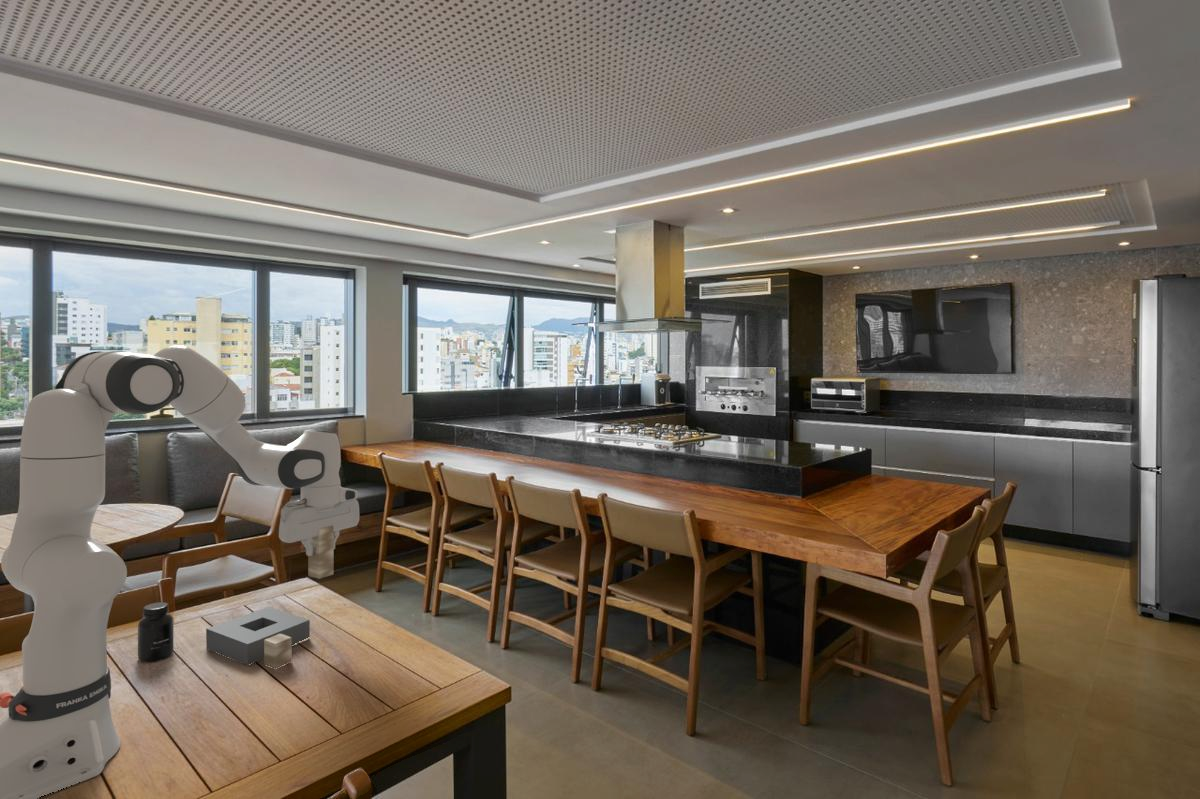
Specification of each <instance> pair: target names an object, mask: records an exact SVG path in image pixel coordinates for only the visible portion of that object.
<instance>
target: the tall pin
mask: <svg viewBox="0 0 1200 799" xmlns="http://www.w3.org/2000/svg"><path fill="white" fill-rule="evenodd" d="M310 543H311V545H312V547H316V554H315V555H312V556H308V555H307V557H308V558H307V559H308V560H307V563H308V564H307V568H308V569H307V573H308V574H307V575H308V577H311V578H315V579H319V580H320V579H324V578H326V577H329V576H333V575H334V572H335V570H334V568H335V567H334V565H335V564H334V563H335V562H334V555H335V554H334V549H333V526H329V527H325V528H321V529H319V535H318V536H316V537H312V542H310Z"/></svg>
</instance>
